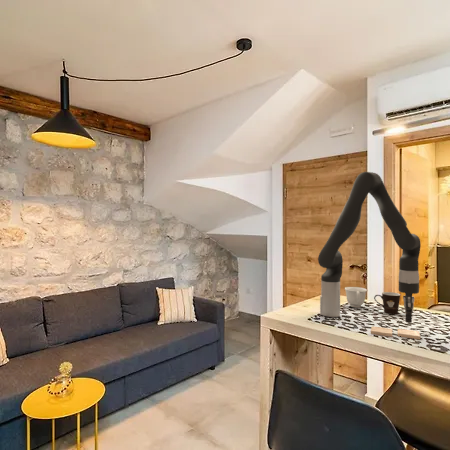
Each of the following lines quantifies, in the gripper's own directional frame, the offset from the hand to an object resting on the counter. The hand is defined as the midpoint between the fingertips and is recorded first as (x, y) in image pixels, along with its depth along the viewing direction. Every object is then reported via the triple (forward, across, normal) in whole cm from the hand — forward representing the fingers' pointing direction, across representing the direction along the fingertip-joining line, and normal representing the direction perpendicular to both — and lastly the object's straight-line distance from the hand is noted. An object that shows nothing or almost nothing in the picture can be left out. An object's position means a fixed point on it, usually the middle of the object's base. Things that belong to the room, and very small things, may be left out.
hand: (408, 322), depth 136 cm
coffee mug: (+5, -35, -8) cm, 36 cm away
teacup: (+5, -38, -24) cm, 45 cm away
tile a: (+5, 0, -10) cm, 11 cm away
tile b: (+5, -2, 0) cm, 5 cm away
